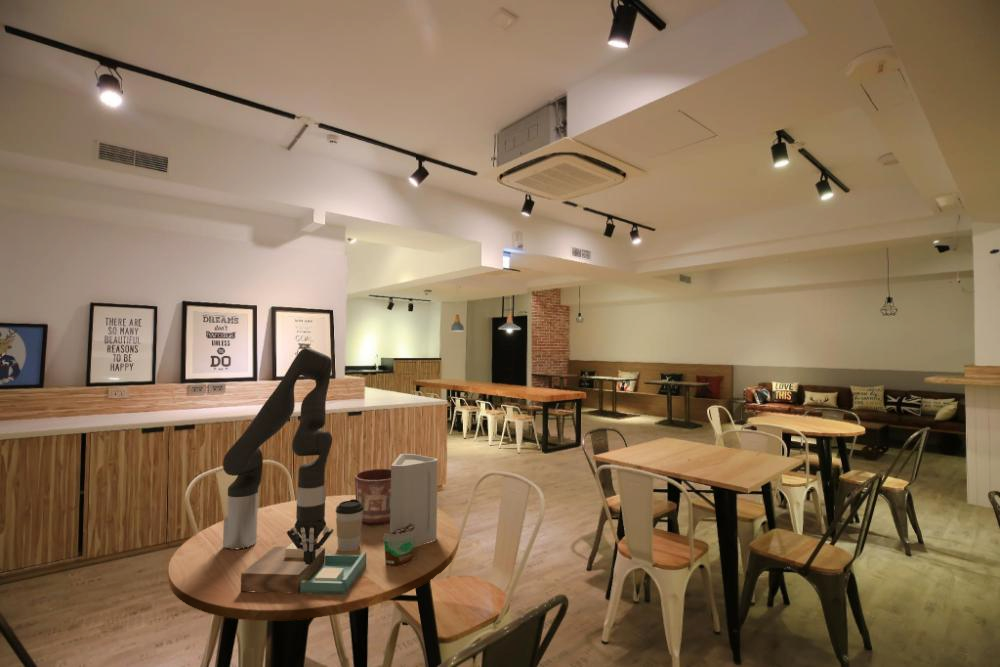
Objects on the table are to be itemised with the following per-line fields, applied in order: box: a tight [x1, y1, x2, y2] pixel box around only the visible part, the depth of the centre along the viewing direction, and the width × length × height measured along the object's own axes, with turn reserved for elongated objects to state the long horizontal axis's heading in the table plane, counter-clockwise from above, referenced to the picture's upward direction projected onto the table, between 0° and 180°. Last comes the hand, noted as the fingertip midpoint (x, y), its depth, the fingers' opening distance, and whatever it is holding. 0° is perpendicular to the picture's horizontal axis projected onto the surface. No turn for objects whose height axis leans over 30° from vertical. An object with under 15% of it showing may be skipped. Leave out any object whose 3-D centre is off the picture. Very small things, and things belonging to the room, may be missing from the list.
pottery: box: [354, 468, 391, 526], centre depth 186 cm, size 18×18×18 cm
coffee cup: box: [335, 498, 364, 552], centre depth 159 cm, size 9×9×15 cm
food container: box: [382, 523, 416, 567], centre depth 149 cm, size 12×6×10 cm, turn 148°
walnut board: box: [240, 545, 326, 594], centre depth 138 cm, size 16×18×5 cm
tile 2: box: [315, 568, 344, 581], centre depth 133 cm, size 6×6×2 cm
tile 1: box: [285, 542, 304, 558], centre depth 142 cm, size 6×6×2 cm
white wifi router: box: [389, 453, 439, 548], centre depth 167 cm, size 19×15×28 cm
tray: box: [299, 551, 367, 596], centre depth 137 cm, size 12×18×4 cm
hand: (309, 563), depth 133 cm, fingers closed
